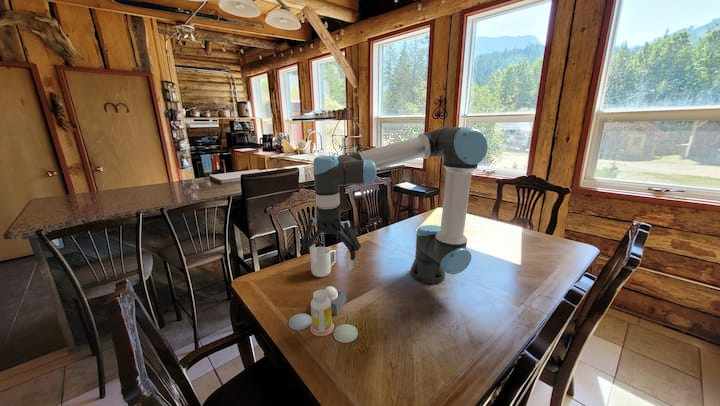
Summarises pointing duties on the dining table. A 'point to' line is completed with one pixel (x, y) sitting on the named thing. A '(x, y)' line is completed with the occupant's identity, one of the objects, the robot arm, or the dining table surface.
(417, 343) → the dining table surface
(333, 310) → the housing
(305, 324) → the pad
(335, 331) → the pad
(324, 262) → the mug
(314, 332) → the pad
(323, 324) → the supplement bottle
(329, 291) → the white ovoid
